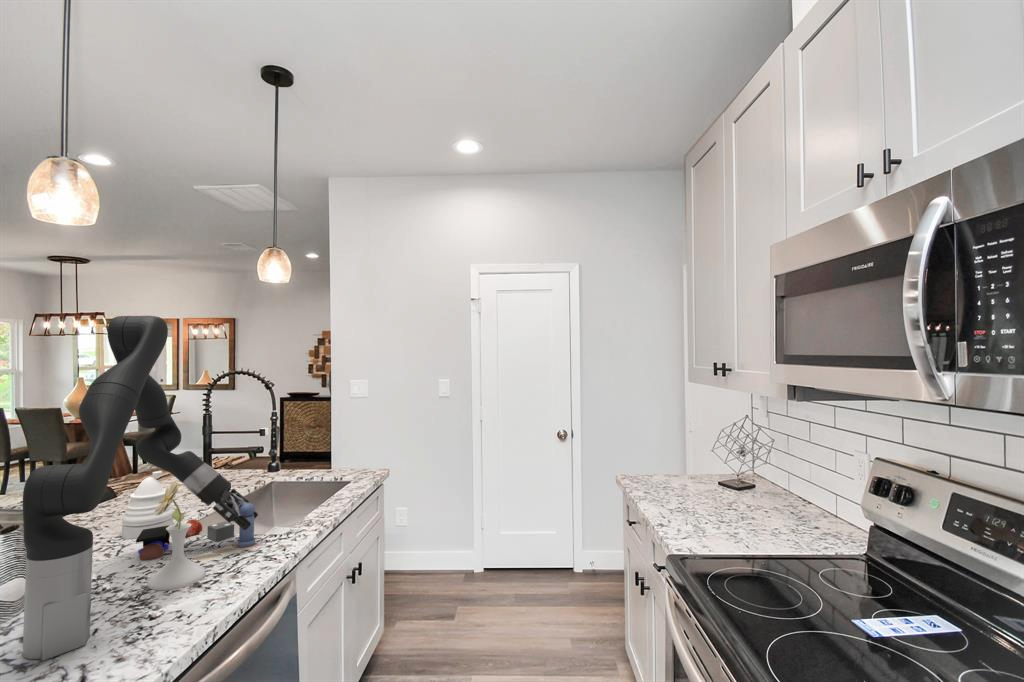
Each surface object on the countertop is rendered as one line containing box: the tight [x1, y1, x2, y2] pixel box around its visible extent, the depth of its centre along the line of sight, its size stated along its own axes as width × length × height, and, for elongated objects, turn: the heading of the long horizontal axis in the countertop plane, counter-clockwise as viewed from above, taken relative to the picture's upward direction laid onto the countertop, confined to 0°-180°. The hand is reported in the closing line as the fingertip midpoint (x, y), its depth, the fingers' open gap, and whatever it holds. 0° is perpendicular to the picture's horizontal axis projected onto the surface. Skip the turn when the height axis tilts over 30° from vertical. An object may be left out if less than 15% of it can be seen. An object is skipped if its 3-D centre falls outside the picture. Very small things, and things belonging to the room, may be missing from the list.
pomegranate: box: [185, 519, 203, 539], centre depth 148 cm, size 6×6×8 cm
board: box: [191, 541, 261, 564], centre depth 134 cm, size 8×16×2 cm, turn 146°
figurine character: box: [135, 525, 171, 561], centre depth 134 cm, size 7×8×15 cm
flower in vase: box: [147, 480, 207, 592], centre depth 116 cm, size 13×11×25 cm
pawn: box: [236, 502, 256, 549], centre depth 138 cm, size 4×4×12 cm
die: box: [206, 520, 235, 543], centre depth 144 cm, size 5×5×5 cm
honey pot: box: [121, 470, 174, 540], centre depth 154 cm, size 13×13×18 cm
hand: (252, 522), depth 139 cm, fingers open, 8 cm apart
